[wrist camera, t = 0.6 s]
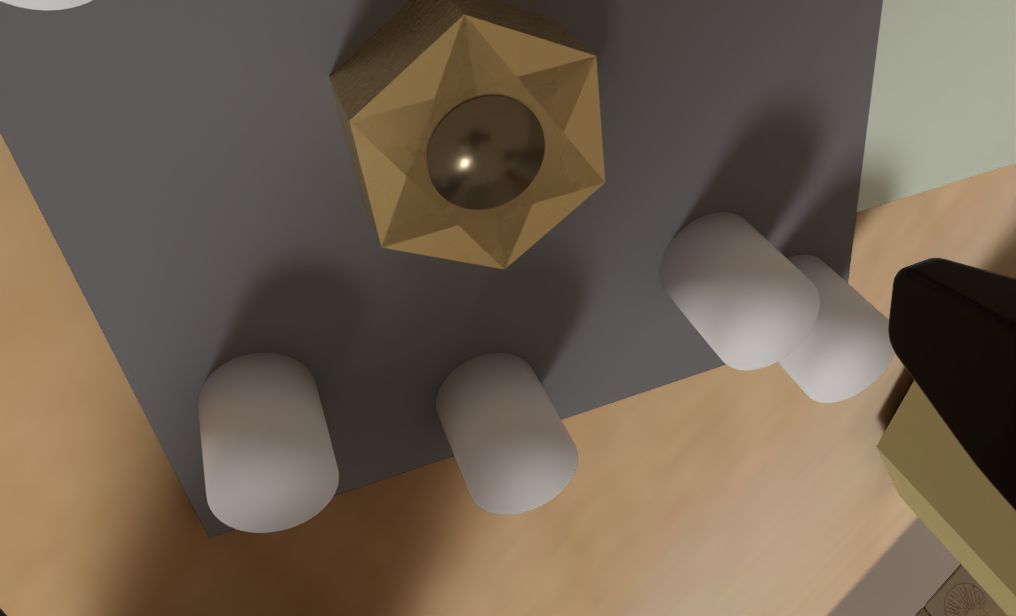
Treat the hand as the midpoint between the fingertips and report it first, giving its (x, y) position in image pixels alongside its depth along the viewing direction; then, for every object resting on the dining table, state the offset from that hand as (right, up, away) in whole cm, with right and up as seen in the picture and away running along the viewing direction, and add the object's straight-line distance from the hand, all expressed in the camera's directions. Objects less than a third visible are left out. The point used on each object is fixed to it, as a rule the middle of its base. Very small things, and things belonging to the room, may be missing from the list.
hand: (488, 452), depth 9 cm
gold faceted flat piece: (-1, +6, +11) cm, 12 cm away
